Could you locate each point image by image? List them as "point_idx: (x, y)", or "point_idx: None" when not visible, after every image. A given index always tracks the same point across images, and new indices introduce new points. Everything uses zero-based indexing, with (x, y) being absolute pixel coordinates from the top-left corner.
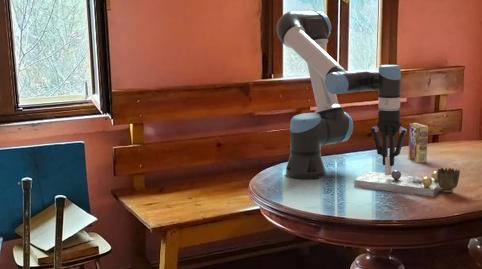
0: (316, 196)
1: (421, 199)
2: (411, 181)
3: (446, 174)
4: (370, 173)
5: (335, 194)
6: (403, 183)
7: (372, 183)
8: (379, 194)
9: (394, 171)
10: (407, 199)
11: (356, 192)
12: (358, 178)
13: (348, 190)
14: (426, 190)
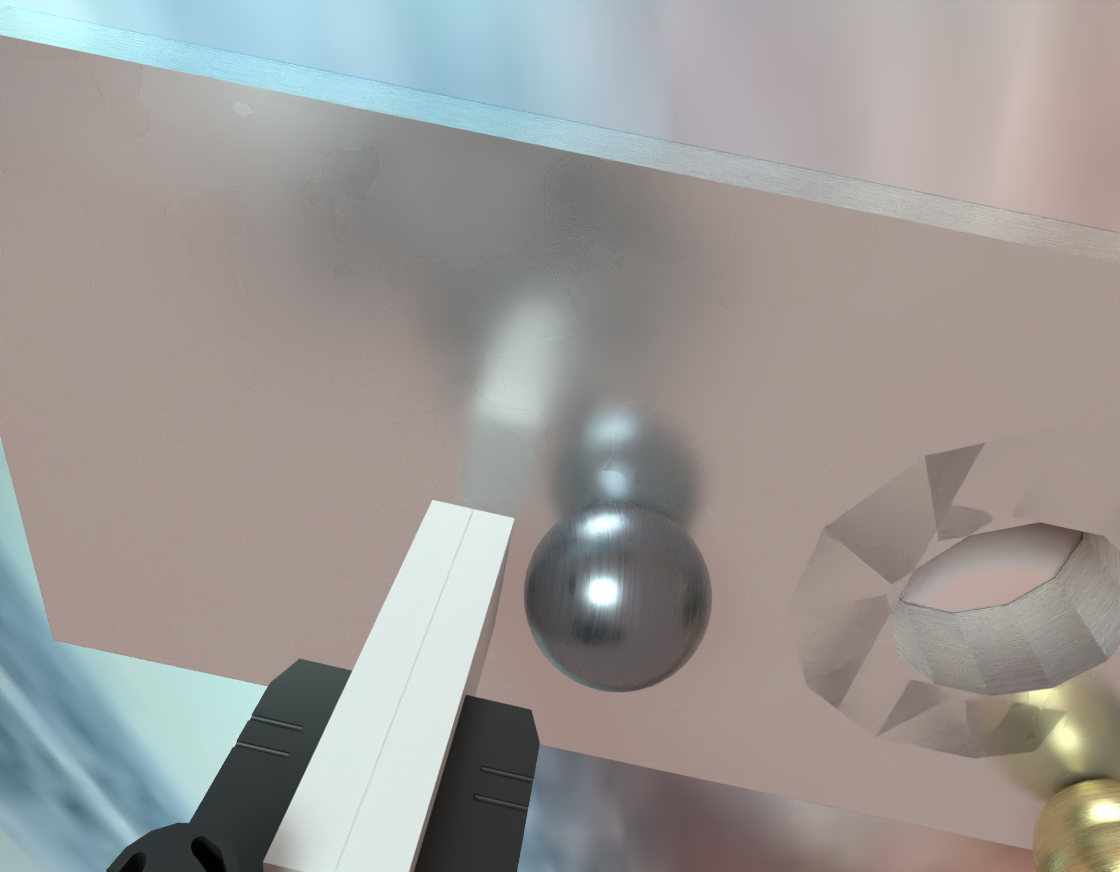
0: (6, 858)
1: (936, 859)
2: (890, 595)
3: None
4: (48, 209)
5: (104, 809)
6: (750, 704)
7: None
8: None
9: (579, 681)
10: (785, 867)
11: None
12: (60, 570)
13: (138, 701)
14: None
